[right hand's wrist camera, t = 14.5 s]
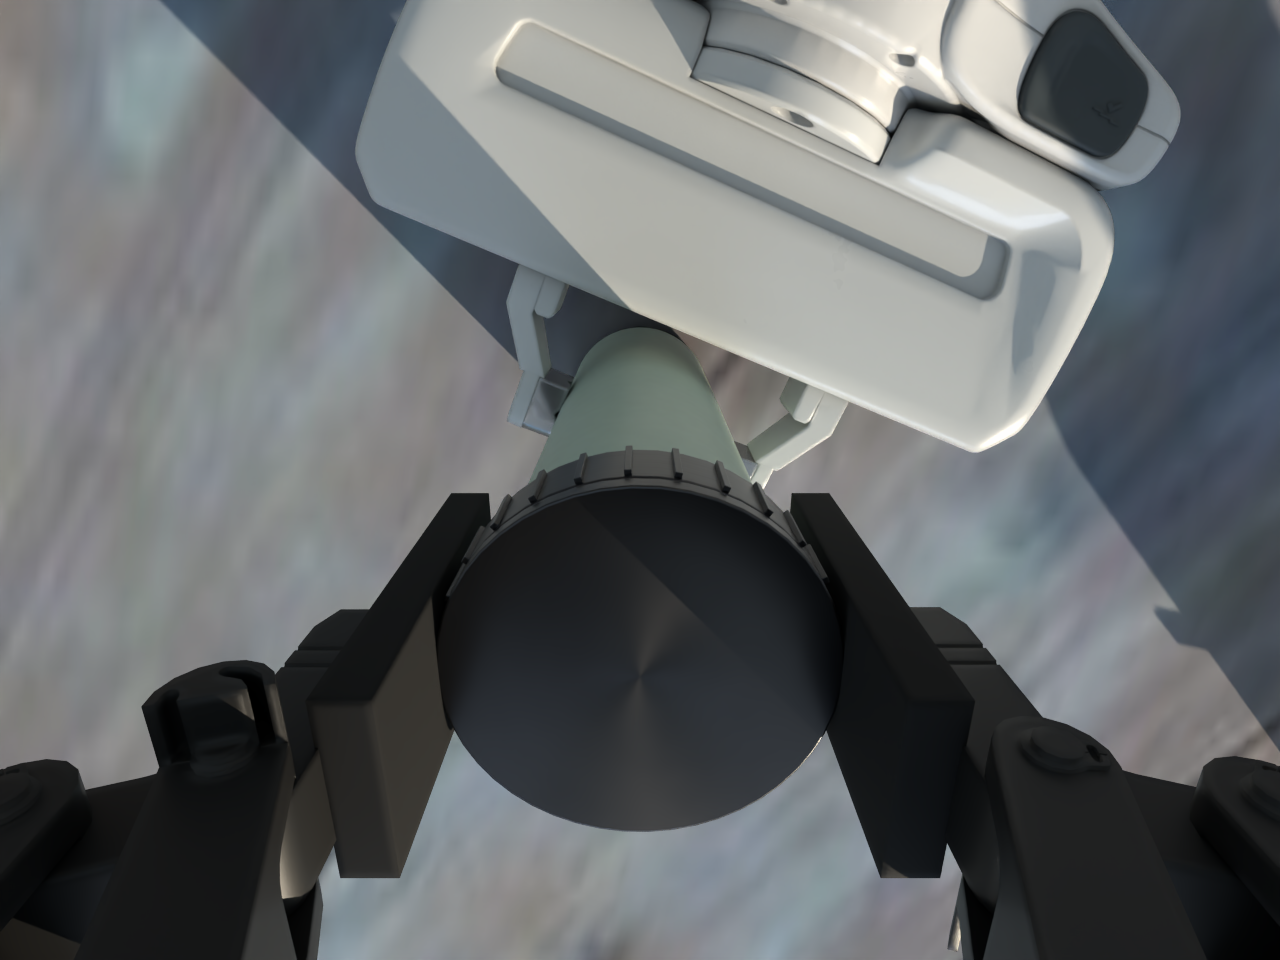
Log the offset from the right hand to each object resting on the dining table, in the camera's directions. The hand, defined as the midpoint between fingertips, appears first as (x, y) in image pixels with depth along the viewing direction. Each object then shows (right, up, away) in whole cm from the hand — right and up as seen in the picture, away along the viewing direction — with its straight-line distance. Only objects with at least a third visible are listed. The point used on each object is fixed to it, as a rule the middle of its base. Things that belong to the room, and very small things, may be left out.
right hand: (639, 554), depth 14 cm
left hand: (0, +2, +8) cm, 8 cm away
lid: (0, -1, -4) cm, 4 cm away
